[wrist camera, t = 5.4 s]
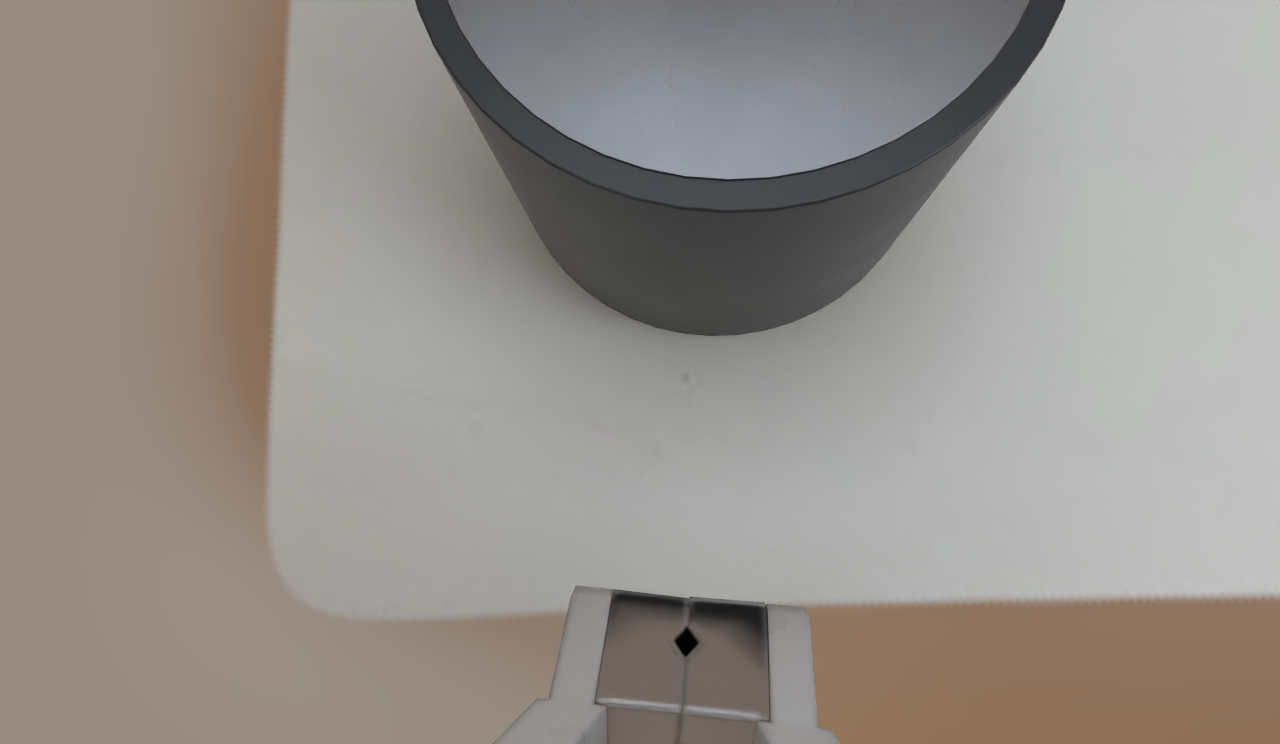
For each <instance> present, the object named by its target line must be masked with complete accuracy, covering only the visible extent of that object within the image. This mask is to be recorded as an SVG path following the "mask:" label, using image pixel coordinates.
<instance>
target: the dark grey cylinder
mask: <svg viewBox="0 0 1280 744" xmlns="http://www.w3.org/2000/svg"><path fill="white" fill-rule="evenodd" d="M415 2H416V5H417V9H418V11H419V14H420V16H421V18H422V21H423V23H424V25H425V27H426V30H427V32H428V34H429V37H430V39H431V41H432V43H433V46H434V48H435V49H436V51H437V53H438V55H439V57H440V58H441V60H442V62H443V64H444V66H445V67H446V69H447V71H448V73H449V75H450V76H451V78H452V80H453V82H454V84H455V85H456V87H457V89H458V91H459V93H460V94H461V96H462V98H463V100H464V101H465V103H466V105H467V107H468V109H469V110H470V112H471V114H472V116H473V118H474V119H475V121H476V123H477V125H478V127H479V128H480V130H481V132H482V134H483V136H484V137H485V139H486V141H487V143H488V145H489V146H490V148H491V150H492V152H493V154H494V155H495V157H496V159H497V161H498V163H499V164H500V166H501V168H502V170H503V172H504V173H505V175H506V177H507V179H508V181H509V182H510V184H511V186H512V188H513V190H514V191H515V193H516V195H517V197H518V199H519V200H520V202H521V204H522V206H523V208H524V209H525V211H526V213H527V215H528V217H529V218H530V220H531V222H532V224H533V226H534V227H535V229H536V231H537V233H538V234H539V236H540V237H541V239H542V241H543V242H544V244H545V245H546V247H547V249H548V250H549V252H550V253H551V255H552V256H553V257H554V258H555V260H556V261H557V262H558V263H559V264H560V266H561V267H562V268H563V269H564V270H565V272H566V273H567V274H568V275H569V276H570V277H572V278H573V279H574V280H575V281H576V282H577V283H578V284H579V285H580V286H581V287H582V288H584V289H585V290H586V291H587V292H588V293H590V294H591V295H593V296H594V297H596V298H597V299H599V300H600V301H601V302H603V303H604V304H606V305H607V306H609V307H611V308H613V309H615V310H617V311H619V312H620V313H622V314H624V315H626V316H628V317H630V318H632V319H635V320H638V321H641V322H643V323H646V324H649V325H652V326H655V327H658V328H662V329H667V330H671V331H676V332H680V333H687V334H698V335H709V336H716V335H739V334H745V333H751V332H757V331H763V330H768V329H771V328H774V327H778V326H781V325H784V324H788V323H791V322H794V321H796V320H798V319H800V318H802V317H805V316H807V315H809V314H811V313H814V312H816V311H818V310H820V309H821V308H823V307H824V306H826V305H828V304H829V303H831V302H832V301H834V300H836V299H837V298H839V297H841V296H842V295H843V294H844V293H845V292H847V291H848V290H849V289H850V288H852V287H853V286H854V285H855V284H856V283H858V282H859V281H860V280H861V279H862V278H863V277H864V276H865V275H866V274H867V273H868V272H869V271H870V270H871V269H872V268H873V267H874V266H875V264H876V263H877V262H878V261H879V260H880V259H881V258H882V256H883V255H884V254H885V253H886V251H887V250H888V249H889V247H890V246H891V245H892V244H893V242H894V241H895V240H896V238H897V237H898V236H899V235H900V233H901V232H902V231H903V230H904V228H905V227H906V226H907V224H908V223H909V222H910V221H911V219H912V218H913V217H914V215H915V214H916V213H917V212H918V210H919V209H920V208H921V206H922V205H923V204H924V203H925V201H926V200H927V199H928V197H929V196H930V195H931V194H932V192H933V191H934V190H935V189H936V187H937V186H938V185H939V183H940V182H941V181H942V180H943V178H944V177H945V176H946V174H947V173H948V172H949V171H950V169H951V168H952V167H953V165H954V164H955V163H956V162H957V160H958V159H959V158H960V157H961V155H962V154H963V153H964V151H965V150H966V149H967V148H968V146H969V145H970V144H971V142H972V141H973V140H974V139H975V137H976V136H977V135H978V133H979V132H980V131H981V130H982V128H983V127H984V126H985V124H986V123H987V122H988V121H989V119H990V118H991V117H992V116H993V114H994V113H995V112H996V110H997V109H998V108H999V107H1000V105H1001V104H1002V103H1003V101H1004V100H1005V99H1006V98H1007V96H1008V95H1009V94H1010V92H1011V91H1012V90H1013V89H1014V87H1015V86H1016V85H1017V84H1018V82H1019V81H1020V79H1021V78H1022V76H1023V75H1024V74H1025V72H1026V71H1027V69H1028V68H1029V66H1030V65H1031V64H1032V62H1033V61H1034V59H1035V58H1036V57H1037V55H1038V54H1039V52H1040V51H1041V49H1042V48H1043V46H1044V44H1045V42H1046V40H1047V38H1048V37H1049V35H1050V33H1051V31H1052V29H1053V27H1054V25H1055V23H1056V21H1057V19H1058V17H1059V15H1060V13H1061V11H1062V9H1063V6H1064V3H1065V0H415Z"/></svg>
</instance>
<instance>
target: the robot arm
mask: <svg viewBox="0 0 1280 744" xmlns="http://www.w3.org/2000/svg"><path fill="white" fill-rule="evenodd" d="M493 744H841V743H840V742H839V740H838V739H837V737H836V736H835V735H834V733H833V732H832V730H831V729H826V728H820V727H818V718H817V707H816V694H815V682H814V670H813V659H812V648H811V635H810V623H809V614H808V612H807V610H806V608H805V607H798V606H787V605H775V604H766V605H765V603H764V602H751V601H738V600H726V599H713V598H700V597H689V598H683V597H674V596H666V595H657V594H649V593H641V592H632V591H624V590H616V589H606V588H596V587H586V586H577V585H576V586H575V589H574V591H573V593H572V595H571V598H570V603H569V608H568V612H567V617H566V621H565V626H564V631H563V636H562V640H561V644H560V649H559V654H558V658H557V663H556V667H555V672H554V677H553V681H552V686H551V690H550V695H549V699H538V698H537V699H536V700H535V701H534V702H533V703H532V704H531V705H530V706H529V707H528V708H527V709H526V710H525V711H524V712H523V713H522V714H521V715H520V716H519V718H517V719H516V721H515V722H514V723H513V724H512V725H511V726H510V727H509V728H508V729H507V730H506V731H505V732H504V733H503V734H502V735H501V736H500V737H499V738H498V739H497V740H496V741H495V742H494V743H493Z"/></svg>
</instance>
